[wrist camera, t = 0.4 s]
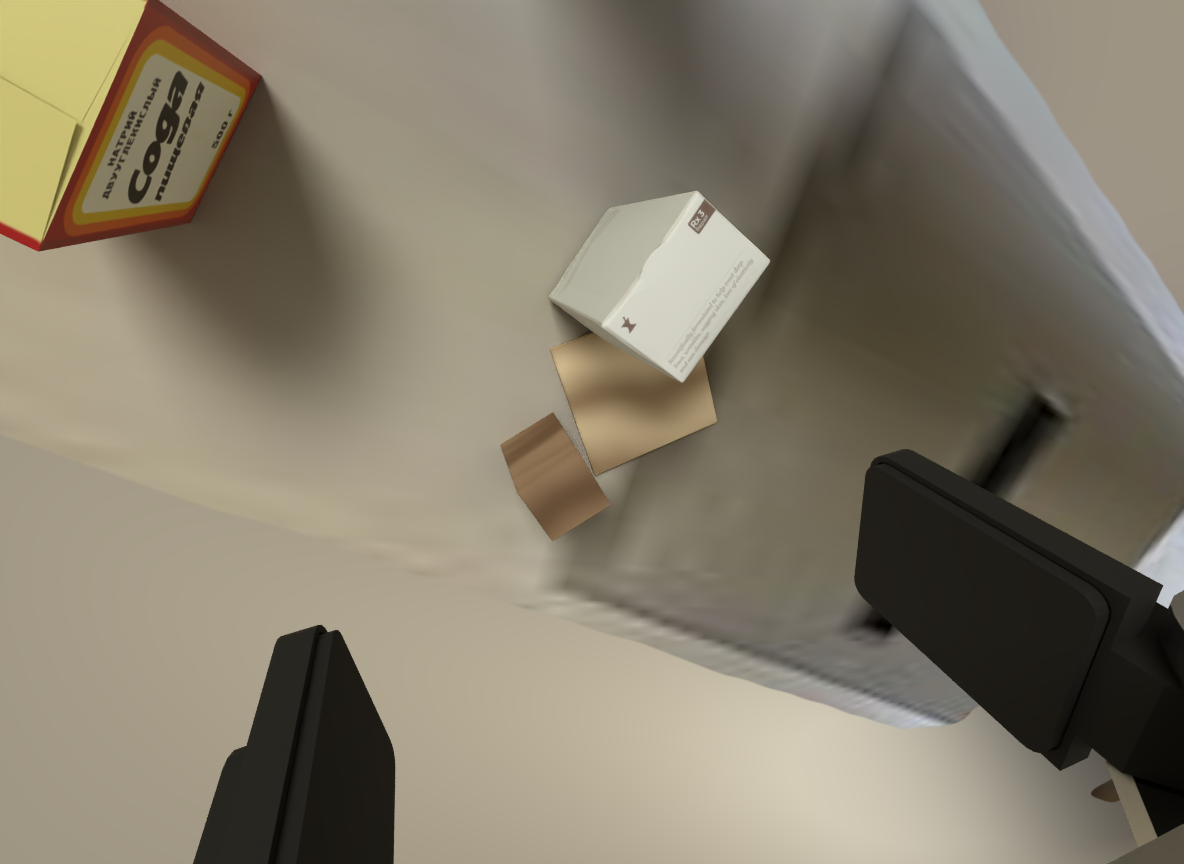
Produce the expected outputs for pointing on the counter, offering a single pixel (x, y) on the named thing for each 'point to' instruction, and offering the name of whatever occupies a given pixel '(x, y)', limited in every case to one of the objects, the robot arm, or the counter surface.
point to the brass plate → (628, 401)
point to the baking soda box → (109, 118)
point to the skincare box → (661, 279)
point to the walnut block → (552, 477)
